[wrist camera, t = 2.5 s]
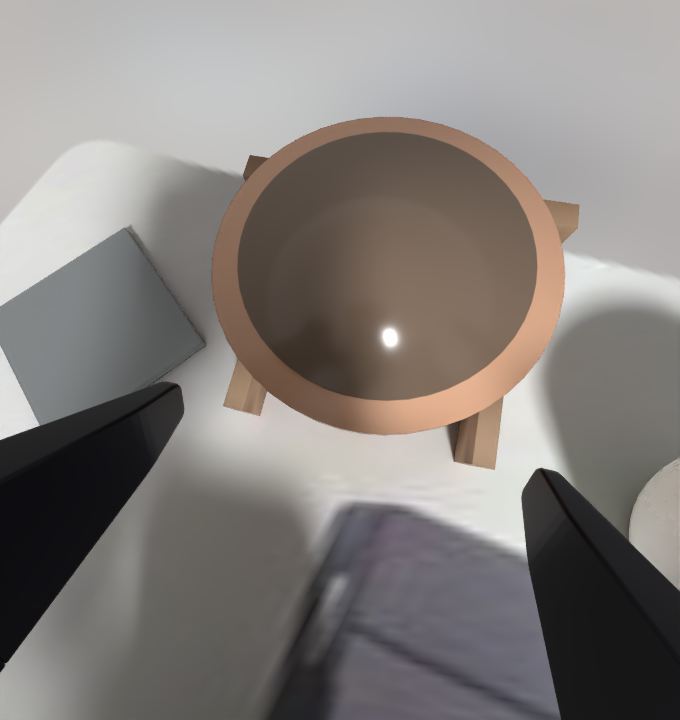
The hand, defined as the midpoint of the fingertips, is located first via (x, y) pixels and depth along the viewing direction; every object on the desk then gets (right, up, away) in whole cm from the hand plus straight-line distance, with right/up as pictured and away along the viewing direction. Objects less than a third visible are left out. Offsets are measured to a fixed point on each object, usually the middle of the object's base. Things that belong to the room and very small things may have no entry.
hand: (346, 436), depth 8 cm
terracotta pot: (+1, +1, +11) cm, 11 cm away
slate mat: (-15, +4, +13) cm, 20 cm away
